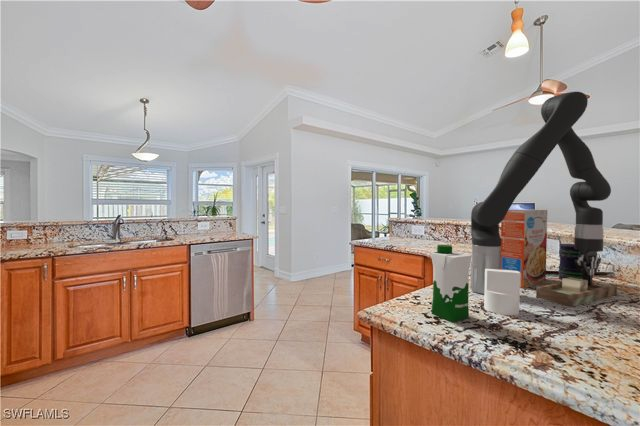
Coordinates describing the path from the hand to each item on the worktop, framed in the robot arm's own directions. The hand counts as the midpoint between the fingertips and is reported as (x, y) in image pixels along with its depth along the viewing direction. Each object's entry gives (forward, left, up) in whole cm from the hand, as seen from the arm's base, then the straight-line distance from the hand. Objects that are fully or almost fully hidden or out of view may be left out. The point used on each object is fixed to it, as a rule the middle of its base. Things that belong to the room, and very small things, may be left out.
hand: (587, 284), depth 102 cm
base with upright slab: (-33, -29, -4) cm, 44 cm away
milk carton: (-48, -40, -4) cm, 62 cm away
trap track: (-5, -4, -3) cm, 7 cm away
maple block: (-6, -6, -1) cm, 8 cm away
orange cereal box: (-16, +11, -4) cm, 20 cm away
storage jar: (+4, +21, -4) cm, 22 cm away
